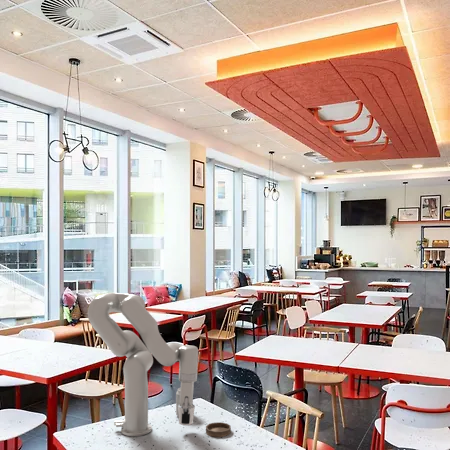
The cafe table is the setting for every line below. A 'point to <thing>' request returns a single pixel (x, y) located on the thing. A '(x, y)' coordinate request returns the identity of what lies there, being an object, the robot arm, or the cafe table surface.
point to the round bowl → (218, 429)
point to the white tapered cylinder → (191, 411)
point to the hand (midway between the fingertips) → (185, 419)
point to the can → (178, 401)
